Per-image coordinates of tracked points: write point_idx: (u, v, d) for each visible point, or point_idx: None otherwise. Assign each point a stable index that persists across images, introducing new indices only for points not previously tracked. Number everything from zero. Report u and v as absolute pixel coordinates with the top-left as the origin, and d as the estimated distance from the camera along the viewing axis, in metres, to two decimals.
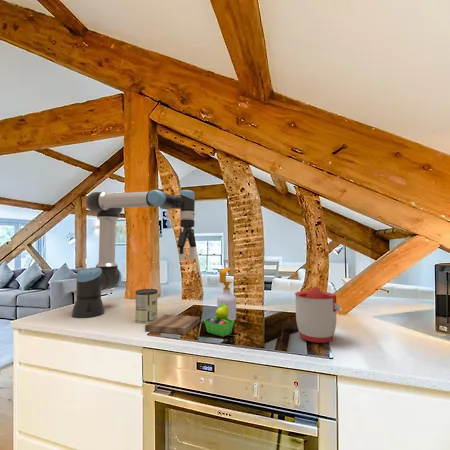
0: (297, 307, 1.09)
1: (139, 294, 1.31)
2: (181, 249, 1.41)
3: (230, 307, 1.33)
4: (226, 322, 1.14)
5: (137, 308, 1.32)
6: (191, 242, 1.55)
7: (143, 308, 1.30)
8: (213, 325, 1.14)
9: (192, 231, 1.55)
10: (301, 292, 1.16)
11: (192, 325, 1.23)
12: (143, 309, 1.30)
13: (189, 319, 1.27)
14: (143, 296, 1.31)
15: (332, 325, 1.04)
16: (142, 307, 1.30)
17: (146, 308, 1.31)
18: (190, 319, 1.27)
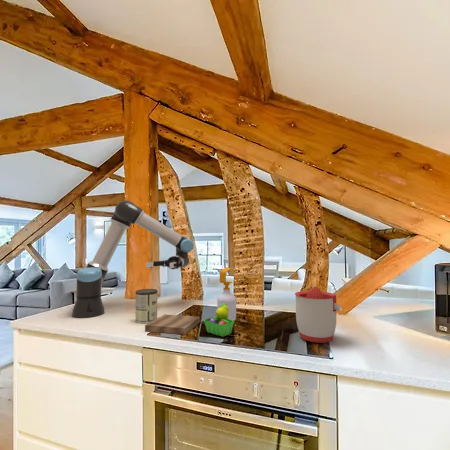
0: (297, 307, 1.09)
1: (139, 294, 1.31)
2: (177, 265, 1.51)
3: (230, 307, 1.33)
4: (226, 322, 1.14)
5: (137, 308, 1.32)
6: (157, 264, 1.58)
7: (143, 308, 1.30)
8: (213, 325, 1.14)
9: None
10: (301, 292, 1.16)
11: (192, 325, 1.23)
12: (143, 309, 1.30)
13: (189, 319, 1.27)
14: (143, 296, 1.31)
15: (332, 326, 1.04)
16: (142, 307, 1.30)
17: (146, 308, 1.31)
18: (190, 319, 1.27)
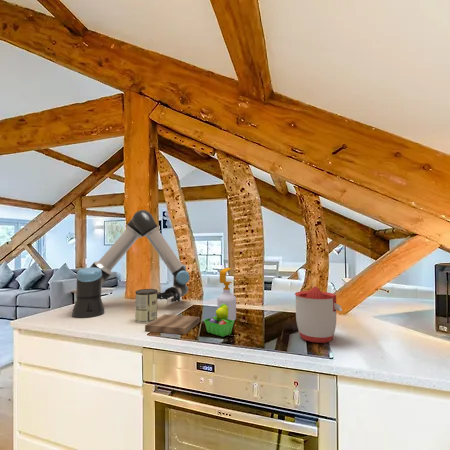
0: (297, 307, 1.09)
1: (139, 294, 1.31)
2: (174, 300, 1.47)
3: (230, 307, 1.33)
4: (226, 322, 1.14)
5: (137, 308, 1.32)
6: None
7: (143, 308, 1.30)
8: (213, 325, 1.14)
9: None
10: (301, 292, 1.16)
11: (192, 325, 1.23)
12: (143, 309, 1.30)
13: (189, 319, 1.27)
14: (143, 296, 1.31)
15: (332, 325, 1.04)
16: (142, 307, 1.30)
17: (146, 308, 1.31)
18: (190, 319, 1.27)
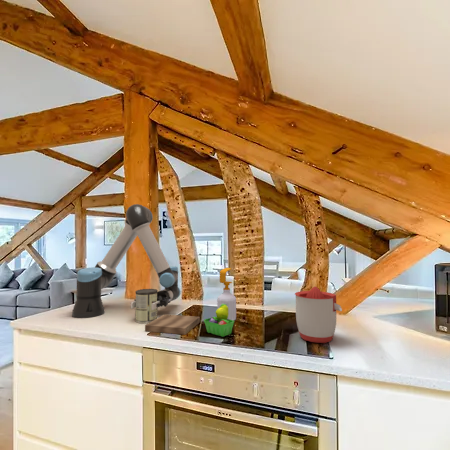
0: (297, 307, 1.09)
1: (139, 294, 1.31)
2: (160, 304, 1.35)
3: (230, 307, 1.33)
4: (226, 322, 1.14)
5: (137, 308, 1.32)
6: None
7: (143, 308, 1.30)
8: (213, 325, 1.14)
9: None
10: (301, 292, 1.16)
11: (192, 325, 1.23)
12: (143, 309, 1.30)
13: (189, 319, 1.27)
14: (143, 296, 1.31)
15: (332, 325, 1.04)
16: (142, 307, 1.30)
17: (146, 308, 1.31)
18: (190, 319, 1.27)
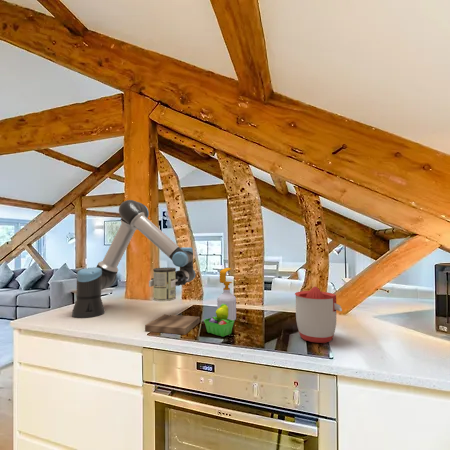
0: (297, 307, 1.09)
1: (158, 271, 1.27)
2: (179, 283, 1.31)
3: (230, 307, 1.33)
4: (226, 322, 1.14)
5: (156, 286, 1.27)
6: None
7: (162, 285, 1.26)
8: (213, 325, 1.14)
9: None
10: (301, 292, 1.16)
11: (192, 325, 1.23)
12: (162, 286, 1.26)
13: (189, 319, 1.27)
14: (162, 273, 1.26)
15: (332, 326, 1.04)
16: (161, 285, 1.26)
17: (165, 286, 1.26)
18: (190, 319, 1.27)
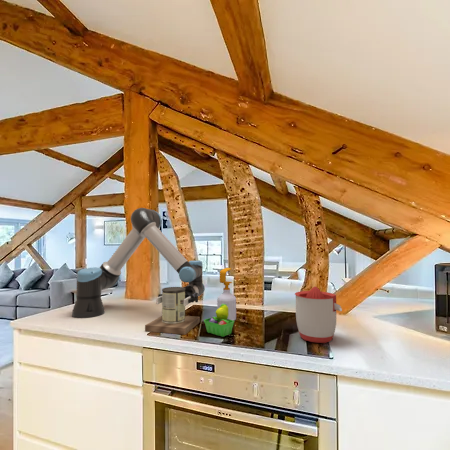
0: (297, 307, 1.09)
1: (167, 292, 1.21)
2: (192, 300, 1.26)
3: (230, 307, 1.33)
4: (226, 322, 1.14)
5: (164, 307, 1.22)
6: None
7: (172, 307, 1.21)
8: (213, 325, 1.14)
9: None
10: (301, 292, 1.16)
11: (192, 325, 1.23)
12: (171, 308, 1.21)
13: (189, 319, 1.27)
14: (172, 294, 1.21)
15: (332, 326, 1.04)
16: (170, 306, 1.21)
17: (174, 307, 1.21)
18: (190, 319, 1.27)
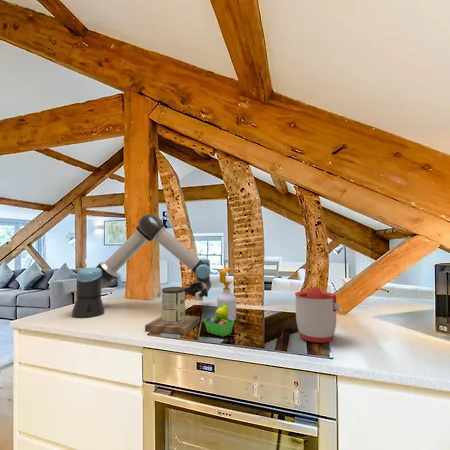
0: (297, 307, 1.09)
1: (167, 292, 1.21)
2: (202, 295, 1.38)
3: (230, 307, 1.33)
4: (226, 322, 1.14)
5: (164, 307, 1.22)
6: None
7: (172, 307, 1.21)
8: (213, 325, 1.14)
9: None
10: (301, 292, 1.16)
11: (192, 325, 1.23)
12: (171, 308, 1.21)
13: (189, 319, 1.27)
14: (171, 294, 1.21)
15: (332, 326, 1.04)
16: (170, 307, 1.21)
17: (174, 307, 1.21)
18: (190, 319, 1.27)
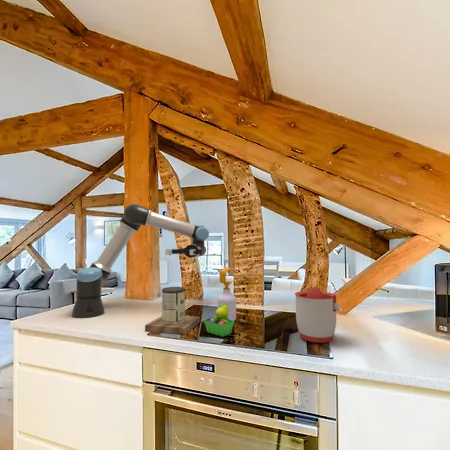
0: (297, 307, 1.09)
1: (167, 292, 1.21)
2: (196, 252, 1.49)
3: (230, 307, 1.33)
4: (226, 322, 1.14)
5: (164, 307, 1.22)
6: (175, 252, 1.55)
7: (172, 307, 1.21)
8: (213, 325, 1.14)
9: None
10: (301, 292, 1.16)
11: (192, 325, 1.23)
12: (171, 308, 1.21)
13: (189, 319, 1.27)
14: (171, 294, 1.21)
15: (332, 325, 1.04)
16: (170, 307, 1.21)
17: (174, 307, 1.21)
18: (190, 319, 1.27)
